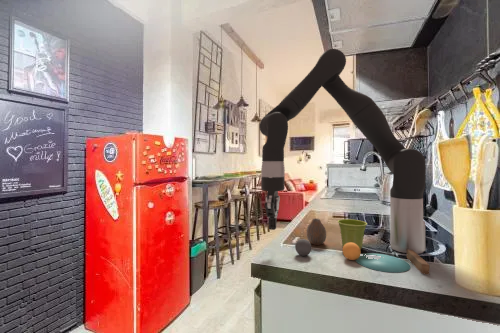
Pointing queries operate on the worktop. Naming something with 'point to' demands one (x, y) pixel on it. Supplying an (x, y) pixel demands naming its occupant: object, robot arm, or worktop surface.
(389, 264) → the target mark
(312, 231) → the brown oval solid
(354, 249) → the orange ball
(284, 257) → the worktop surface
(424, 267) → the rail
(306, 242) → the gray ball
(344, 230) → the plant pot
